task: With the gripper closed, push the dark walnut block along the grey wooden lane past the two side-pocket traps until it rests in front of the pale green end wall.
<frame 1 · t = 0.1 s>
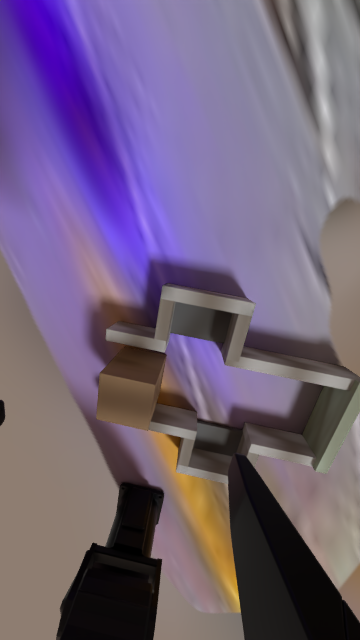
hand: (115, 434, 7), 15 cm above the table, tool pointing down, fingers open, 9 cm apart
block: (142, 369, 23), on the table
trap lane: (221, 386, 23), on the table
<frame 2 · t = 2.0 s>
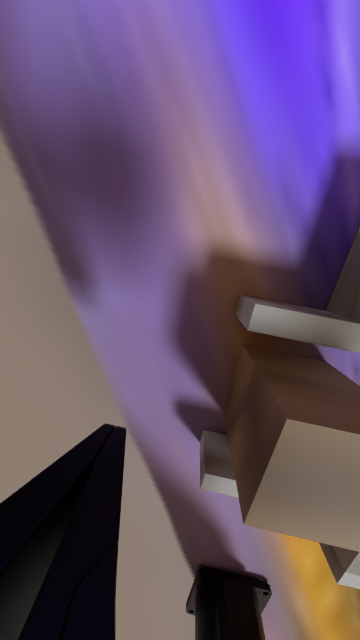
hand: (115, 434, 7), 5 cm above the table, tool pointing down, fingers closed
block: (271, 387, 12), on the table
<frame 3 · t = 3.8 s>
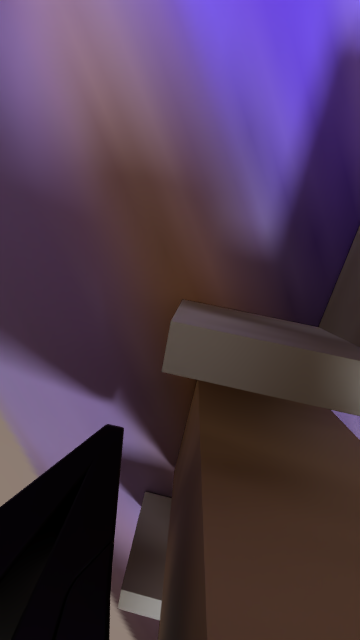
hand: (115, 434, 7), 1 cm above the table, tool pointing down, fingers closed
block: (243, 440, 8), on the table, touching gripper
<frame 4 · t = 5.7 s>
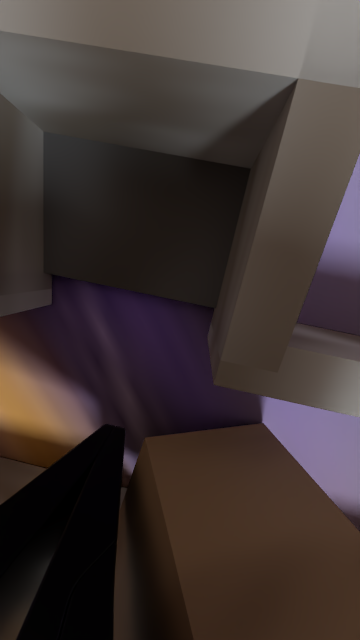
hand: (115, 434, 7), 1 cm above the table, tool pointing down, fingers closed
block: (190, 478, 7), point 1 cm above the table, tilted 28°, touching gripper
trap lane: (207, 434, 8), on the table
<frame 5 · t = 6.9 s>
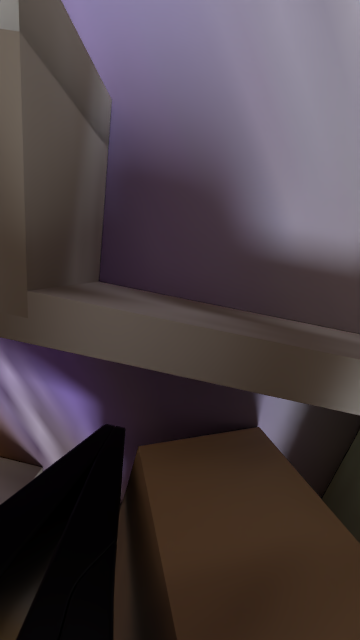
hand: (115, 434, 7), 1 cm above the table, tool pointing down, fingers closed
block: (188, 484, 7), point 1 cm above the table, tilted 28°, touching gripper
trap lane: (85, 405, 8), on the table
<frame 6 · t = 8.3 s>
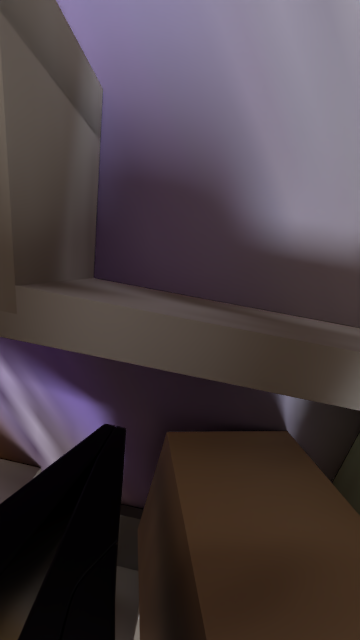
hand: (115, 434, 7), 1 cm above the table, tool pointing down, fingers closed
block: (212, 479, 8), point 1 cm above the table, tilted 19°, touching gripper
trap lane: (82, 405, 8), on the table
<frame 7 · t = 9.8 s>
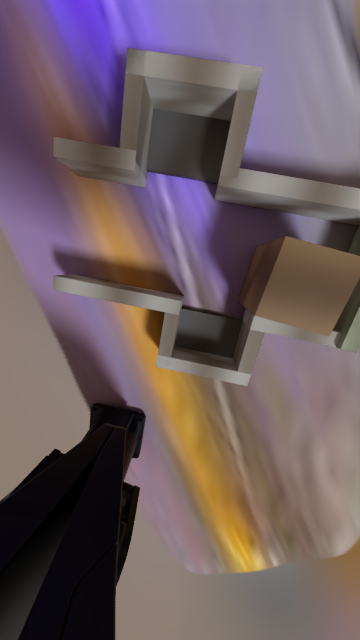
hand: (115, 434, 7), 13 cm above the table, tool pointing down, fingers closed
block: (272, 282, 18), on the table
trap lane: (214, 254, 17), on the table
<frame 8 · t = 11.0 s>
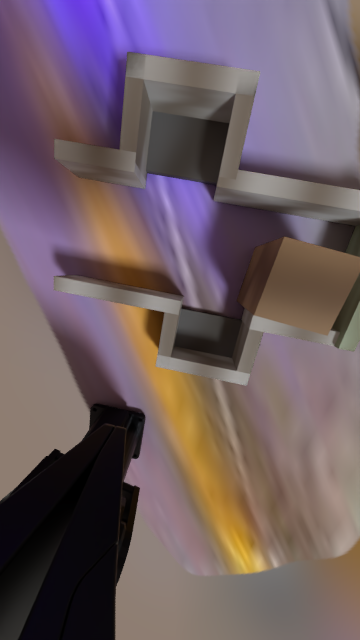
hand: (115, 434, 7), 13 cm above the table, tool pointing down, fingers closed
block: (271, 282, 18), on the table
trap lane: (213, 254, 18), on the table
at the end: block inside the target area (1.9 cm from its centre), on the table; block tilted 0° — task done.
